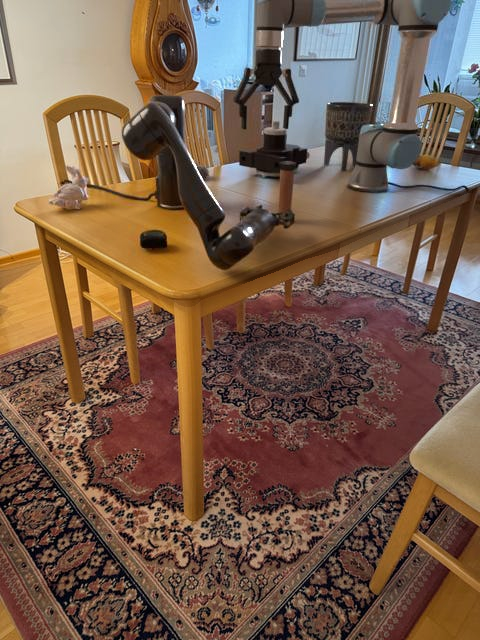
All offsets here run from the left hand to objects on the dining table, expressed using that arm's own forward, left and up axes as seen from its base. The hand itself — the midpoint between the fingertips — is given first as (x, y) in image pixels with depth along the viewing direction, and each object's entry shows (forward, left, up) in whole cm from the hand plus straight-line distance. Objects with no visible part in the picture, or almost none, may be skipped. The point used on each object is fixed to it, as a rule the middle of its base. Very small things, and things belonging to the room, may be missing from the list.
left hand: (275, 210), depth 128 cm
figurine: (-67, -7, -6) cm, 68 cm away
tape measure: (-24, -26, -6) cm, 36 cm away
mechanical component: (-21, +73, -6) cm, 76 cm away
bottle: (0, +10, -6) cm, 12 cm away
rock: (-49, +46, -6) cm, 68 cm away
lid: (0, +10, +11) cm, 15 cm away
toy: (+36, +114, -6) cm, 120 cm away
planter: (+1, +98, -6) cm, 99 cm away
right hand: (-12, +22, +18) cm, 31 cm away
